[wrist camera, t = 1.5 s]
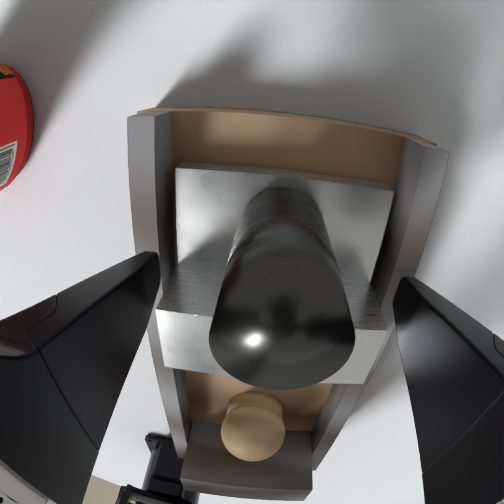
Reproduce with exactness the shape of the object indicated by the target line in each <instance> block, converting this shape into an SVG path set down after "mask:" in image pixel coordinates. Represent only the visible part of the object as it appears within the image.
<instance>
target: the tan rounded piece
mask: <svg viewBox="0 0 504 504" xmlns="http://www.w3.org/2000/svg"><path fill="white" fill-rule="evenodd" d="M221 437H222V441H223V443H224V445H225V447H226V448H227V450H228V451H229V452H230V453H231V454H233V455H234V456H236V457H237V458H239V459H242V460H246V461H260V460H264V459H267V458H269V457H270V456H272V455H273V454H275V453H276V452H277V451H278V450H279V448H280V447H281V445H282V443H283V441H284V437H285V426H284V423H283V420H282V404H281V402H280V401H279V400H278V399H277V398H275V397H273V396H271V395H269V394H265V393H260V392H245V393H240V394H237V395H235V396H233V397H232V398H231V399H230V400H229V402H228V409H227V415H226V417H225V418H224V420H223V423H222V427H221Z"/></svg>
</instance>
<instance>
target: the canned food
mask: <svg viewBox="0 0 504 504" xmlns="http://www.w3.org/2000/svg"><path fill="white" fill-rule="evenodd" d="M32 136H33V110H32V102H31V99H30V95H29V91H28V89H27V87H26V84H25V82H24V80H23V79H22V77H21V76H20V75H19V73H17V72H16V71H15V70H14V69H13V68H10V67H7V66H5V65H2V64H0V190H2V189H4V188H5V187H7V186H8V185H9V184H10V183H11V182H12V181H13V180H14V178H15V177H16V176H17V175H18V174H19V173H20V171H21V170H22V168H23V166H24V165H25V163H26V160H27V158H28V155H29V152H30V148H31V143H32Z"/></svg>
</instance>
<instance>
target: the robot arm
mask: <svg viewBox="0 0 504 504" xmlns="http://www.w3.org/2000/svg"><path fill="white" fill-rule="evenodd" d="M160 283H161V271H160V259H159V255H158V253H157V252H151V251H144V252H142V253H139V254H137V255H135V256H133V257H131V258H129V259H127V260H125V261H122V262H120V263H118V264H116V265H114V266H112V267H110V268H108V269H106V270H104V271H102V272H100V273H98V274H96V275H93V276H91V277H89V278H87V279H85V280H83V281H81V282H79V283H77V284H75V285H73V286H71V287H69V288H67V289H65V290H63V291H61V292H59V293H58V294H57V295H53V296H51V297H50V298H48V299H46V300H44V301H42V302H40V303H38V304H36V305H34V306H32V307H29V308H27V309H25V310H23V311H20V312H18V313H16V314H14V315H12V316H9V317H7V318H5V319H2V320H0V504H82V502H83V499H84V496H85V492H86V489H87V486H88V483H89V480H90V477H91V474H92V471H93V468H94V465H95V462H96V459H97V456H98V453H99V451H98V450H100V447H101V444H102V441H103V438H104V435H105V433H106V430H107V427H108V424H109V422H110V419H111V416H112V413H113V411H114V408H115V405H116V403H117V400H118V398H119V395H120V392H121V390H122V387H123V385H124V382H125V380H126V377H127V375H128V372H129V370H130V367H131V365H132V362H133V360H134V357H135V355H136V352H137V350H138V348H139V345H140V343H141V340H142V338H143V336H144V333H145V331H146V328H147V326H148V323H149V320H150V317H151V313H152V310H153V306H154V303H155V300H156V296H157V293H158V290H159V286H160ZM392 306H393V312H394V319H395V325H396V332H397V340H398V346H399V351H400V355H401V359H402V364H403V368H404V372H405V377H406V381H407V386H408V391H409V396H410V401H411V406H412V411H413V416H414V422H415V428H416V434H417V440H418V447H419V454H420V461H421V469H422V473H423V474H422V478H423V488H424V498H425V504H504V341H503V340H502V339H501V338H499V337H498V336H497V335H495V334H493V333H492V332H491V331H490V330H489V329H487V328H486V327H485V326H483V325H482V324H480V323H479V322H478V321H476V320H475V319H474V318H472V317H471V316H469V315H468V314H467V313H465V312H464V311H462V310H461V309H460V308H458V307H457V306H455V305H454V304H453V303H451V302H450V301H448V300H447V299H445V298H444V297H443V296H441V295H440V294H438V293H437V292H435V291H434V290H432V289H431V288H429V287H428V286H427V285H425V284H424V283H422V282H421V281H419V280H418V279H416V278H414V277H402V278H401V279H400V281H399V284H398V287H397V290H396V292H395V295H394V298H393V303H392ZM145 441H146V443H147V445H148V448H149V450H150V452H151V457H150V461H149V464H148V468H147V472H146V475H145V479H144V482H143V486H142V489H138V488H135V487H133V486H132V485H129V484H128V485H127V486H121V488H120V491H119V495H118V498H117V501H116V503H115V504H133V503H131V500H133V501H136V503H135V504H198V500H199V495H200V493H199V492H193V491H188V490H184V487H183V485H182V482H181V479H180V475H181V471H182V466H183V461H184V459H183V458H178V456H177V452H176V449H175V446H174V442H173V440H169V439H164V438H159V437H155V436H150V435H146V437H145Z"/></svg>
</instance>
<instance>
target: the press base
mask: <svg viewBox="0 0 504 504" xmlns="http://www.w3.org/2000/svg"><path fill="white" fill-rule="evenodd" d="M127 138H128V167H129V185H130V199H131V212H132V223H133V233H134V243H135V251H136V255H137V254H139V253H142V252H144V251H151V252H157V253H158V255H159V259H160V271H161V283H160V286H159V290H158V293H157V296H156V300H155V303H154V306H153V310H152V313H151V317H150V320H149V323H148V326H147V331H148V337H149V342H150V347H151V352H152V357H153V362H154V366H155V371H156V376H157V380H158V384H159V389H160V393H161V397H162V401H163V405H164V409H165V413H166V417H167V421H168V424H169V428H170V432H171V435H172V439H173V442H174V446H175V449H176V452H177V456H178V458H183V459H184V461H183V466H182V471H181V475H180V479H181V482H182V485H183V487H184V490H188V491H193V492H199V493H205V494H212V495H220V496H228V497H237V498H248V499H261V500H284V501H304V499H305V498H306V497H307V496H308V495H309V493H310V492H311V491H312V470H316V469H317V467H318V466H319V464H320V463H321V461H322V460H323V458H324V457H325V455H326V454H327V452H328V451H329V449H330V447H331V446H332V444H333V443H334V441H335V439H336V438H337V436H338V434H339V433H340V431H341V429H342V428H343V426H344V424H345V423H346V421H347V419H348V417H349V416H350V414H351V412H352V410H353V409H354V407H355V405H356V403H357V401H358V400H359V398H360V396H361V394H362V392H363V390H364V388H365V386H366V385H367V383H368V381H369V379H370V377H371V375H372V373H373V371H374V369H375V367H376V365H377V363H378V361H379V358H380V356H381V354H382V352H383V350H384V348H385V346H386V343H387V341H388V339H389V337H390V335H391V332H392V330H393V328H394V325H395V319H394V312H393V306H392V303H393V298H394V295H395V292H396V290H397V287H398V284H399V281H400V279H401V278H402V277H414V275H415V272H416V269H417V267H418V264H419V261H420V258H421V255H422V252H423V249H424V246H425V243H426V240H427V236H428V233H429V230H430V227H431V223H432V220H433V216H434V213H435V209H436V206H437V202H438V198H439V194H440V191H441V187H442V182H443V178H444V174H445V170H446V165H447V161H448V156H449V153H448V152H446V151H444V150H442V149H440V148H438V147H436V144H434V143H432V142H430V141H428V140H425V139H423V138H421V137H419V136H415V135H411V134H407V133H403V132H398V131H394V130H389V129H385V128H380V127H375V126H370V125H364V124H359V123H353V122H348V121H342V120H335V119H329V118H322V117H315V116H307V115H299V114H290V113H281V112H271V111H259V110H246V109H229V108H202V107H155V108H150V109H146V110H142V111H138V112H137V114H136V115H133V116H129V117H127ZM182 162H196V163H214V164H228V165H241V166H253V167H264V168H275V169H284V170H294V171H302V172H311V173H319V174H327V175H334V176H341V177H348V178H355V179H361V180H368V181H374V182H380V183H386V184H387V185H388V186H389V187H390V188H391V189H392V190H393V191H394V195H393V199H392V203H391V208H390V212H389V216H388V220H387V224H386V228H385V232H384V235H383V239H382V243H381V246H380V250H379V254H378V257H377V261H376V264H375V267H374V271H373V274H372V277H371V281H370V284H371V286H372V289H373V291H374V294H375V296H376V299H377V302H378V304H379V307H380V310H381V312H382V315H383V318H384V321H385V323H386V326H387V329H388V332H387V334H386V337H385V339H384V341H383V343H382V346H381V348H380V350H379V352H378V354H377V356H376V359H375V361H374V363H373V365H372V367H371V369H370V371H369V373H368V375H367V377H366V379H365V381H364V383H363V384H336V383H317V384H314V385H311V386H308V387H303V388H299V389H291V390H271V389H264V388H259V387H255V386H252V385H249V384H246V383H244V382H241V381H240V380H238V379H236V378H234V377H233V376H226V375H218V374H210V373H203V372H196V371H190V370H183V369H177V368H171V367H165V366H164V360H163V354H162V348H161V342H160V336H159V330H158V323H157V316H156V307H157V305H158V303H159V301H160V299H161V297H162V295H163V293H164V291H165V289H166V287H167V285H168V283H169V281H170V279H171V277H172V275H173V273H174V271H175V269H176V267H177V265H178V252H177V227H176V184H175V168H176V167H177V166H179V165H180V164H181V163H182ZM245 392H260V393H265V394H269V395H271V396H273V397H275V398H277V399H278V400H279V401H280V402H281V404H282V420H283V423H284V426H285V437H284V441H283V443H282V445H281V447H280V448H279V450H278V451H277V452H276V453H275V454H273V455H272V456H270V457H269V458H267V459H264V460H260V461H246V460H242V459H239V458H237V457H236V456H234V455H233V454H231V453H230V452H229V451H228V450H227V448H226V447H225V445H224V443H223V441H222V437H221V427H222V423H223V420H224V418H225V417H226V415H227V409H228V402H229V400H230V399H231V398H232V397H233V396H235V395H237V394H240V393H245Z"/></svg>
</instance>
